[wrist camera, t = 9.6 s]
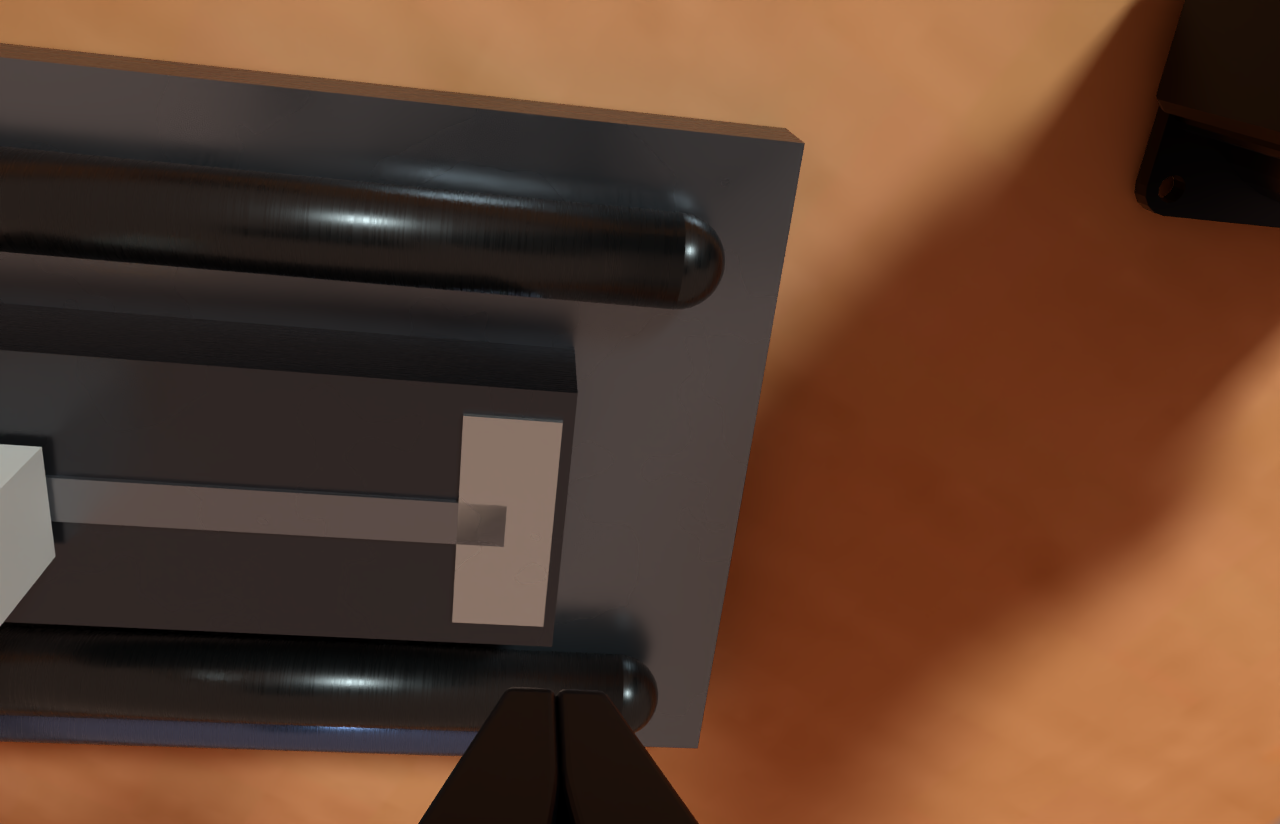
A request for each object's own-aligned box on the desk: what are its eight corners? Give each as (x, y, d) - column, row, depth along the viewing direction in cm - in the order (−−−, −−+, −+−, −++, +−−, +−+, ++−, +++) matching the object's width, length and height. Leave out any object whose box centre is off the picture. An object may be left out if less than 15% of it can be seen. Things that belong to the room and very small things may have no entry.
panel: (786, 127, 19) (836, 168, 16) (689, 702, 24) (711, 822, 21) (-311, 9, 17) (-518, 27, 13) (-158, 669, 22) (-281, 796, 19)
